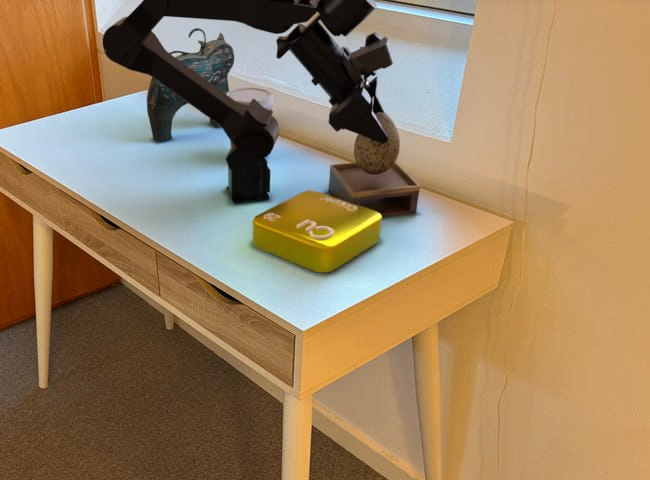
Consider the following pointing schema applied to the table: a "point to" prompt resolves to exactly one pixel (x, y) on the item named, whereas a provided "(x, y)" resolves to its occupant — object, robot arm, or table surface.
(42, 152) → the table surface
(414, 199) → the shallow square tray
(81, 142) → the table surface
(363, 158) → the decorative egg
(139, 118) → the table surface
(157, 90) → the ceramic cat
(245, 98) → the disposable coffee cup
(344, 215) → the element tile
